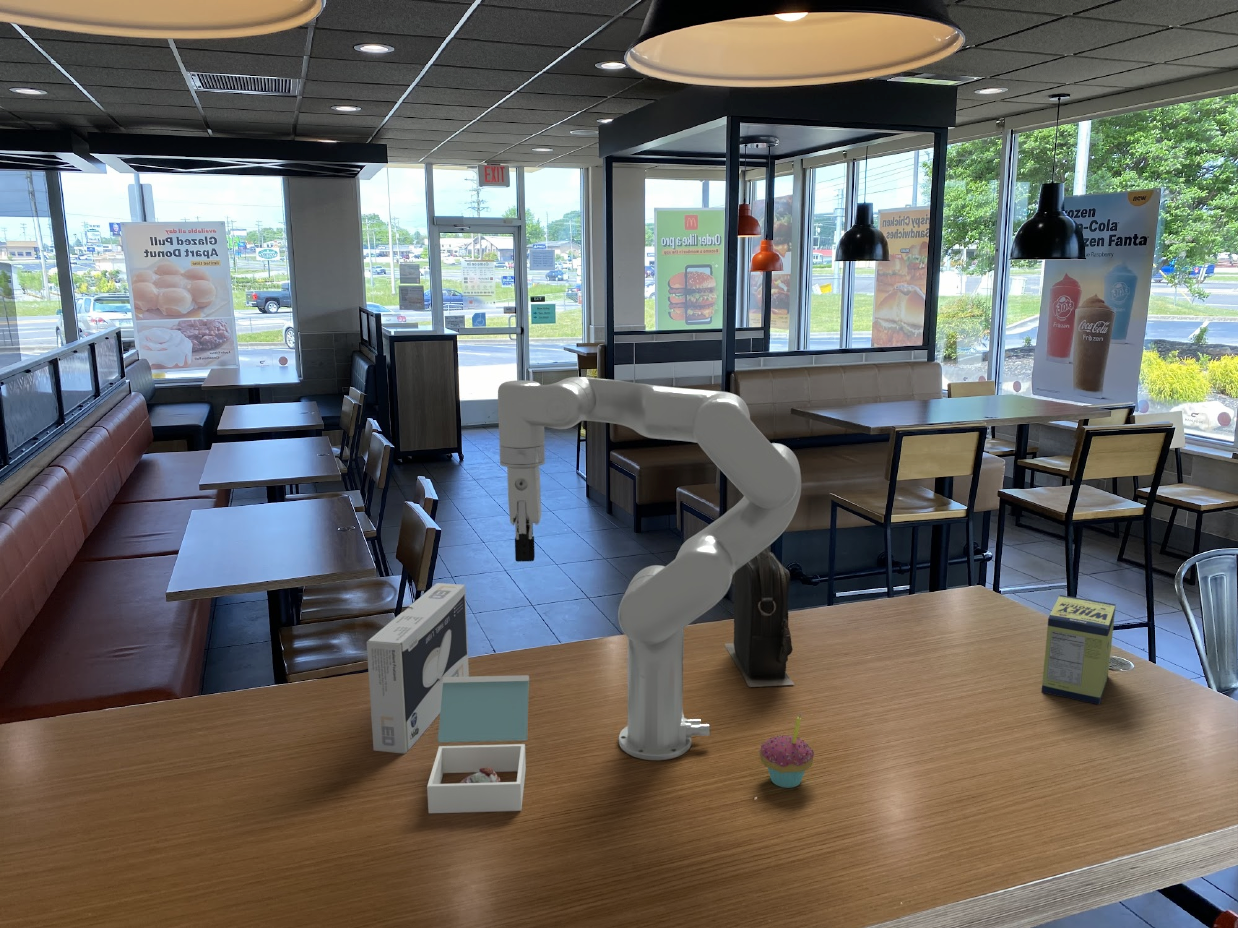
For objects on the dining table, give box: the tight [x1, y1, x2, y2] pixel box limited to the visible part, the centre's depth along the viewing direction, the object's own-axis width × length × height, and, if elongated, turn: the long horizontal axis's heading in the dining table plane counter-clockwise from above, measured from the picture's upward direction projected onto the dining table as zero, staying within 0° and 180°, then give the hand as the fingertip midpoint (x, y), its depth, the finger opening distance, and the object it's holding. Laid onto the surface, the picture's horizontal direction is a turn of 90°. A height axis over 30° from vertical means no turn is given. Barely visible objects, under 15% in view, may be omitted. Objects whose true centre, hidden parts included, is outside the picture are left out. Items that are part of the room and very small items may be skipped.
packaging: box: [366, 582, 470, 755], centre depth 169 cm, size 30×6×20 cm, turn 168°
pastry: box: [459, 767, 501, 783], centre depth 143 cm, size 8×8×5 cm
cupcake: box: [758, 713, 815, 789], centre depth 146 cm, size 9×8×12 cm
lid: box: [437, 674, 530, 744], centre depth 154 cm, size 15×11×1 cm
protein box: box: [1041, 594, 1117, 706], centre depth 180 cm, size 10×16×16 cm
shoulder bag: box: [723, 546, 795, 688], centre depth 189 cm, size 23×9×28 cm, turn 6°
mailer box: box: [426, 743, 527, 814], centre depth 145 cm, size 14×12×4 cm
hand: (525, 559), depth 157 cm, fingers closed
